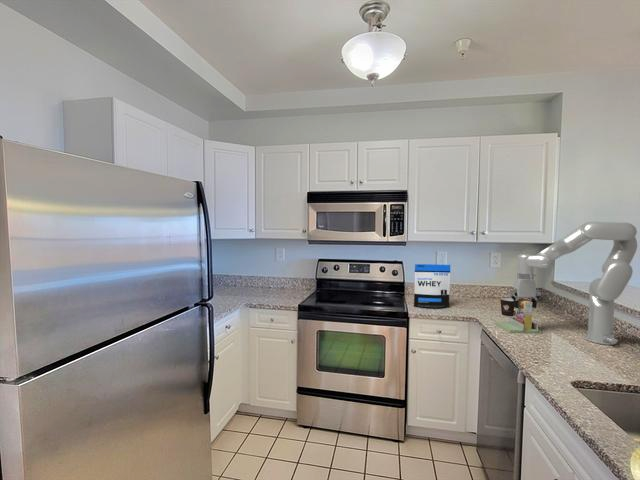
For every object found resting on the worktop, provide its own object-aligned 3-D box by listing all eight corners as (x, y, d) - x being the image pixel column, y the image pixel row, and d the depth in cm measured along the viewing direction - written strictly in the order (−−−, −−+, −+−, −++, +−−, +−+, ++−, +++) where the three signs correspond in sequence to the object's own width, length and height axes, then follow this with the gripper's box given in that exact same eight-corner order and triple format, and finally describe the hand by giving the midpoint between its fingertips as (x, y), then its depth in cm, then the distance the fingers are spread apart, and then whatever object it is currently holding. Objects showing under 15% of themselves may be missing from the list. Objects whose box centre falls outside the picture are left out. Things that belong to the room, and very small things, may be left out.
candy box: (514, 324, 188) (515, 297, 187) (522, 324, 188) (523, 298, 187) (523, 329, 179) (525, 301, 178) (531, 329, 179) (533, 301, 178)
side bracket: (537, 330, 177) (538, 324, 177) (522, 330, 177) (522, 324, 177) (523, 323, 190) (523, 317, 190) (508, 323, 190) (509, 317, 190)
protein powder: (412, 305, 236) (413, 263, 234) (446, 306, 235) (448, 263, 233) (415, 308, 226) (416, 265, 225) (451, 309, 225) (453, 265, 224)
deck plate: (541, 333, 177) (541, 330, 177) (509, 333, 177) (510, 330, 177) (523, 324, 193) (523, 321, 193) (494, 323, 193) (494, 321, 193)
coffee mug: (496, 313, 216) (497, 298, 215) (505, 312, 219) (506, 297, 219) (513, 318, 205) (513, 302, 205) (522, 317, 209) (523, 301, 208)
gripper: (536, 275, 185) (536, 305, 186) (505, 275, 186) (505, 306, 186) (545, 277, 178) (545, 309, 179) (513, 277, 178) (513, 309, 179)
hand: (524, 307), depth 182 cm, fingers open, 9 cm apart
